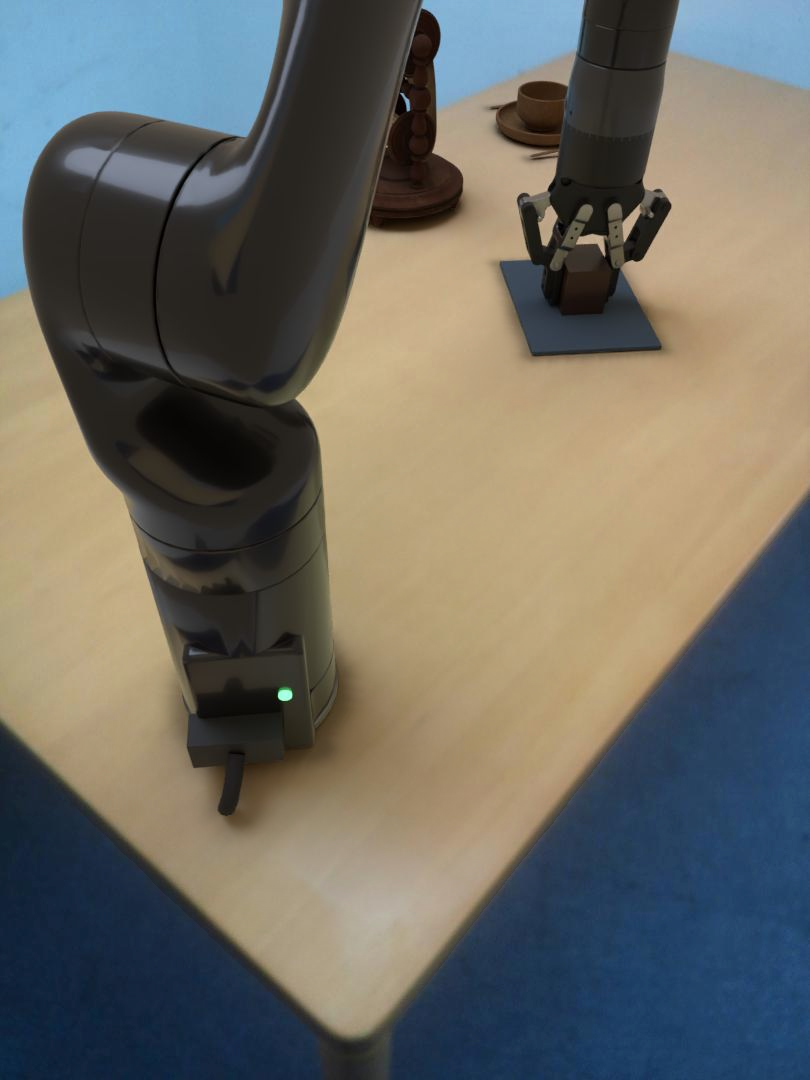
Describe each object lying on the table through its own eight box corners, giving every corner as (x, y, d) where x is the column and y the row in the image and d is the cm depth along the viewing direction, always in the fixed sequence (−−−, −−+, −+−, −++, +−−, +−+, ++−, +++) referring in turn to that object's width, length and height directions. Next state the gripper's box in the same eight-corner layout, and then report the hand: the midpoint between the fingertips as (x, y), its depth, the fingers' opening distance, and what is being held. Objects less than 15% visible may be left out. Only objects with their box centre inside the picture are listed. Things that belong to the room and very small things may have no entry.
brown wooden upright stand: (486, 214, 96) (504, 10, 82) (365, 242, 92) (362, 31, 77) (423, 162, 105) (430, -30, 91) (310, 185, 100) (298, -14, 86)
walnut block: (602, 313, 82) (611, 270, 79) (561, 315, 82) (568, 272, 79) (589, 285, 86) (597, 243, 82) (549, 287, 85) (556, 244, 82)
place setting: (473, 108, 117) (476, 60, 113) (607, 94, 121) (615, 48, 117) (524, 163, 106) (530, 112, 101) (670, 145, 110) (681, 95, 106)
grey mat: (661, 349, 79) (662, 345, 79) (531, 355, 78) (532, 352, 78) (613, 260, 90) (614, 256, 90) (499, 264, 89) (499, 260, 89)
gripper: (534, 135, 68) (510, 324, 81) (709, 131, 69) (659, 317, 82) (515, 99, 73) (496, 282, 86) (679, 95, 74) (636, 276, 87)
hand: (576, 298), depth 84 cm, fingers open, 4 cm apart
